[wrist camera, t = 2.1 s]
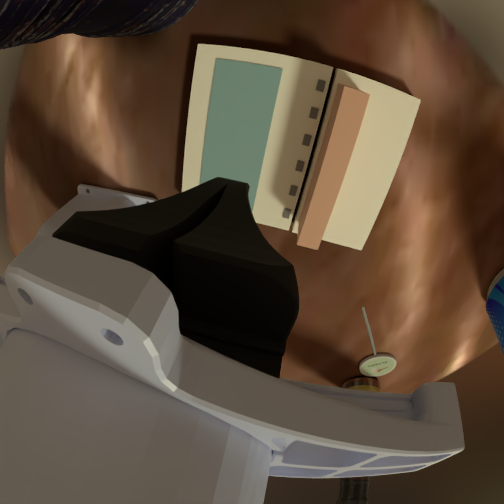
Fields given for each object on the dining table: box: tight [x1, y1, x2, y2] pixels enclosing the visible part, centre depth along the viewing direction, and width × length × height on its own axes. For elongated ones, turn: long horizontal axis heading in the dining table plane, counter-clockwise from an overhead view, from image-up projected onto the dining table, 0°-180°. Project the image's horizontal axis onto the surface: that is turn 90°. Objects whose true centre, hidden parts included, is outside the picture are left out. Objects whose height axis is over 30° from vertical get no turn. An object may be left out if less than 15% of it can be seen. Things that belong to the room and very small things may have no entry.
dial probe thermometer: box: [359, 306, 396, 376], centre depth 32 cm, size 5×1×15 cm
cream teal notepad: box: [182, 44, 333, 231], centre depth 19 cm, size 9×13×1 cm
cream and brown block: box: [292, 68, 421, 250], centre depth 18 cm, size 6×13×4 cm, turn 170°
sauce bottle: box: [336, 377, 381, 504], centre depth 30 cm, size 6×6×20 cm
